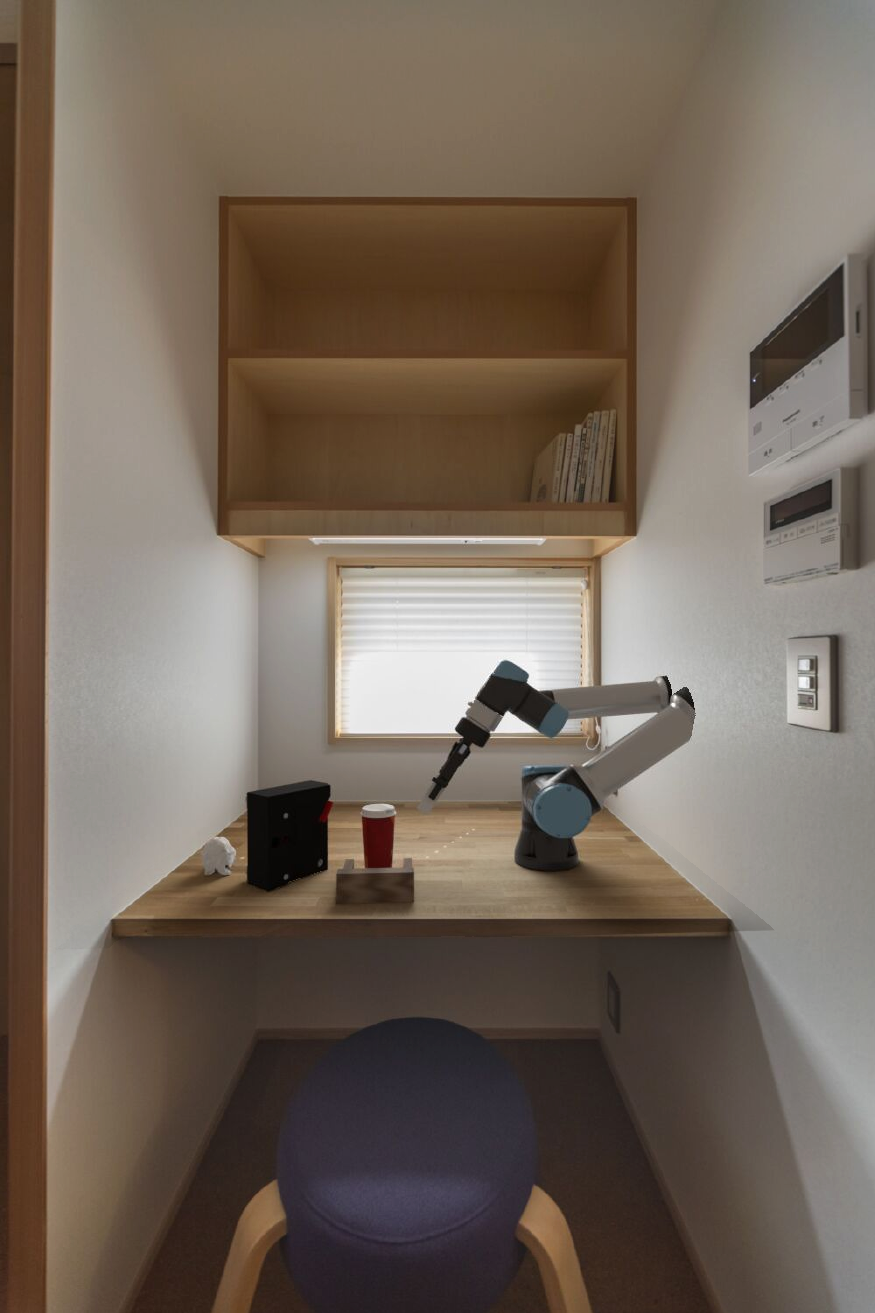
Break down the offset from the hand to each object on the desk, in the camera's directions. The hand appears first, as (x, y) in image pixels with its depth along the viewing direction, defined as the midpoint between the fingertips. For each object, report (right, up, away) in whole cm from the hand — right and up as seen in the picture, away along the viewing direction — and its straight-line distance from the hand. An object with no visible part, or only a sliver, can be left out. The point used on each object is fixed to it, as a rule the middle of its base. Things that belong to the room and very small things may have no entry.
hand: (424, 805), depth 144 cm
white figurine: (-47, -17, +8) cm, 50 cm away
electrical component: (-31, -17, +4) cm, 35 cm away
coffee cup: (-11, -17, +6) cm, 21 cm away
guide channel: (-10, -17, 0) cm, 20 cm away
